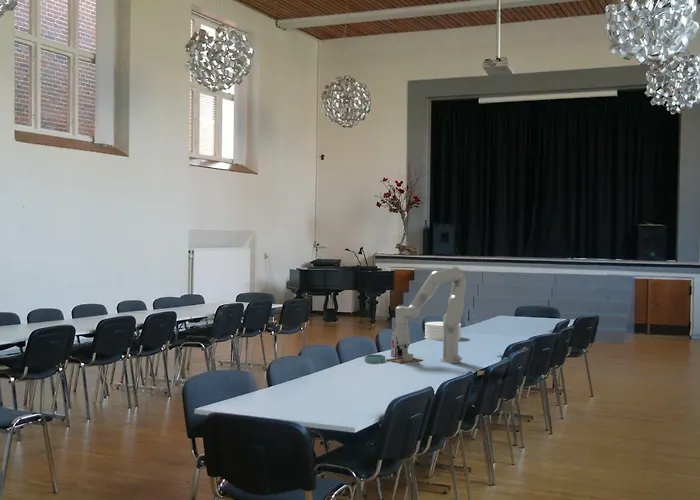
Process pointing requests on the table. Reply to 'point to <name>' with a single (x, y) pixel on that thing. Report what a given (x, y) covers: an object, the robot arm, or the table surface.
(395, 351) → the candy bar box
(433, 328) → the plate stack
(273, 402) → the table surface
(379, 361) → the bowl
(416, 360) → the tray
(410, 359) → the beige square block
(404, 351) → the light grey cube
